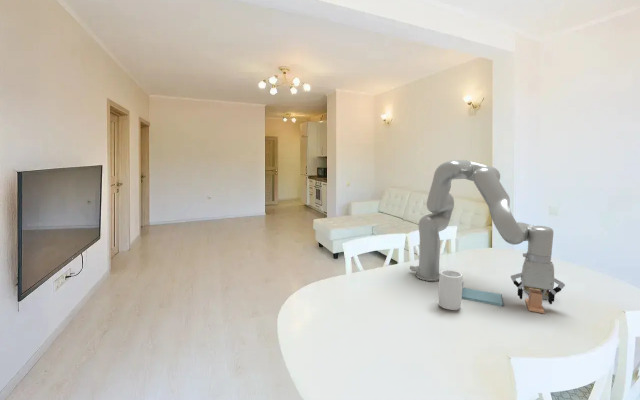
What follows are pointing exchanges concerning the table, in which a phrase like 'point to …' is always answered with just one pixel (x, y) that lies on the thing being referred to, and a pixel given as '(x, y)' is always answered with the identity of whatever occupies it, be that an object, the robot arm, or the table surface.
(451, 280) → the cup
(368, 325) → the table surface
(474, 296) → the gray-edged light blue slab
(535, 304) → the tan stepped block
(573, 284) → the table surface
